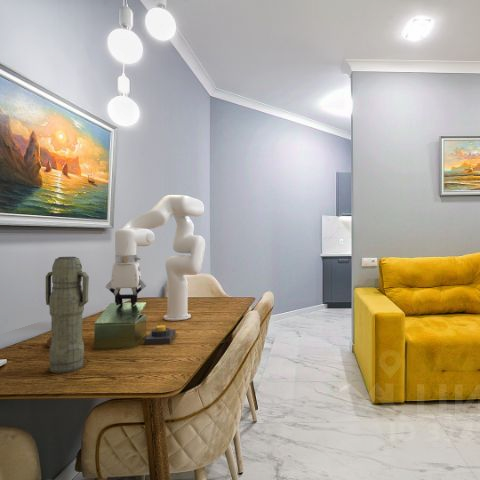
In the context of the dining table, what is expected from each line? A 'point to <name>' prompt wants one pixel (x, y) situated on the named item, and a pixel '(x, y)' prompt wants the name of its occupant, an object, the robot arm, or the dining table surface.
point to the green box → (120, 334)
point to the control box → (160, 337)
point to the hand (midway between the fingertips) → (126, 303)
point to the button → (161, 328)
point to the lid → (121, 312)
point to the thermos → (66, 313)
